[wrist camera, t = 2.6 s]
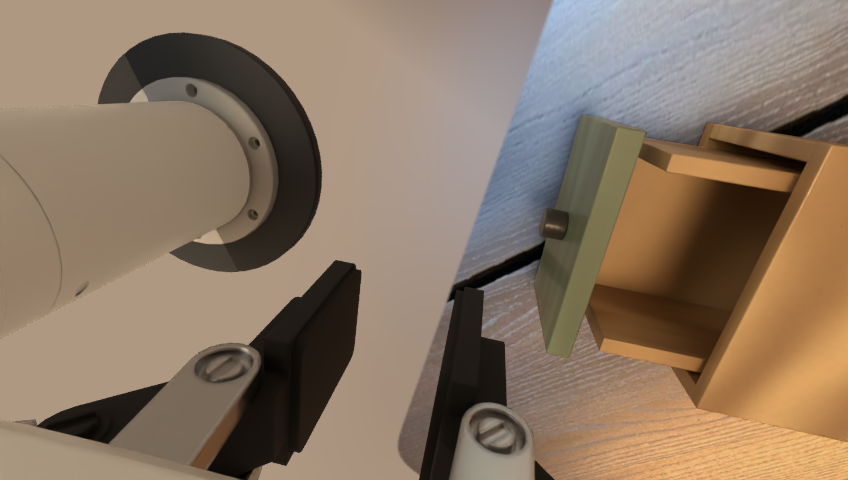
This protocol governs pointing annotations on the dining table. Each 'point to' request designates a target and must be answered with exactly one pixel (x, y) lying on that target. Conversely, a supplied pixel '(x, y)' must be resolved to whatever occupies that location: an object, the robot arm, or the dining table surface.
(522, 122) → the dining table surface
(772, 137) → the cabinet
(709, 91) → the dining table surface
